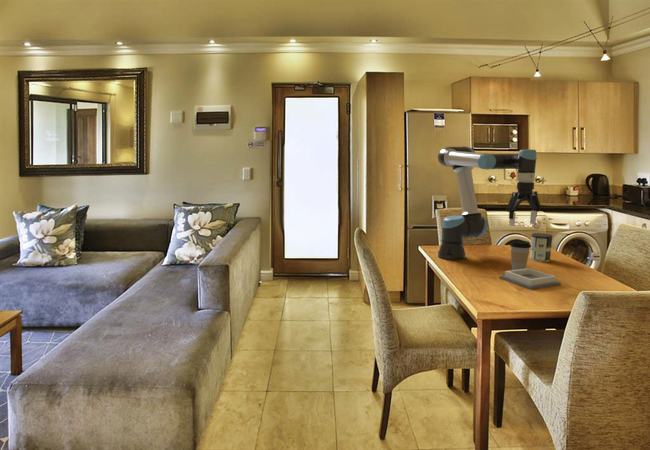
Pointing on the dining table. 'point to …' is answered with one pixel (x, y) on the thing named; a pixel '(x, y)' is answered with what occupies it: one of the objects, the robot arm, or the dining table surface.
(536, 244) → the coffee can
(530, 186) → the robot arm
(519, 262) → the coffee cup
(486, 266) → the dining table surface
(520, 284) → the cup dock
